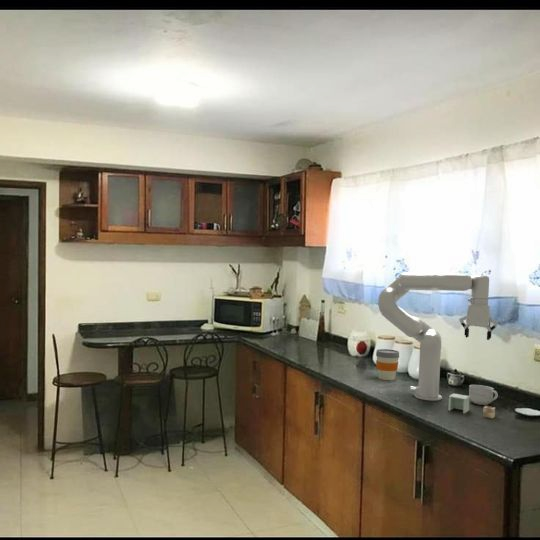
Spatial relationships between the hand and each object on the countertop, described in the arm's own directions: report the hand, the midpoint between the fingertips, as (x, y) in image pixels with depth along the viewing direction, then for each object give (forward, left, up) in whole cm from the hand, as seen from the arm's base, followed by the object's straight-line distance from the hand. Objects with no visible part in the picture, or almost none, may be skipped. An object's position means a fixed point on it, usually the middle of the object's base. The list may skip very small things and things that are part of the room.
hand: (477, 338), depth 268 cm
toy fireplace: (-2, -19, -30) cm, 36 cm away
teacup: (+4, 0, -31) cm, 31 cm away
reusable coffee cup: (-52, +21, -31) cm, 64 cm away
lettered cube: (+11, -20, -30) cm, 38 cm away
